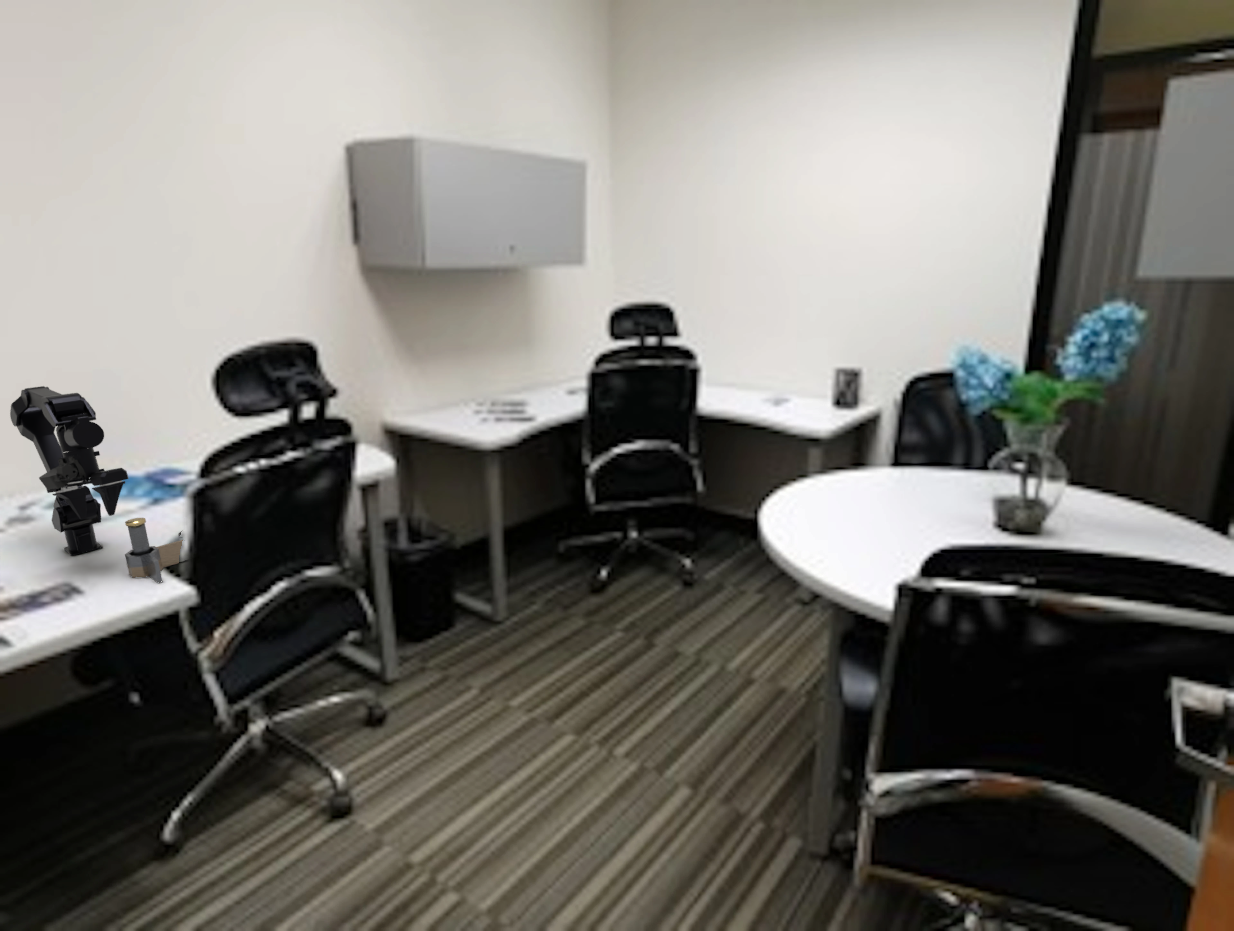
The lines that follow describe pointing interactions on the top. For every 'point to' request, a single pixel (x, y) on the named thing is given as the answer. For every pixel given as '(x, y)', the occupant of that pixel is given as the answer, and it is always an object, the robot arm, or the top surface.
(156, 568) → the bronze hinge
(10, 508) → the top surface
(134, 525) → the hinge pin
